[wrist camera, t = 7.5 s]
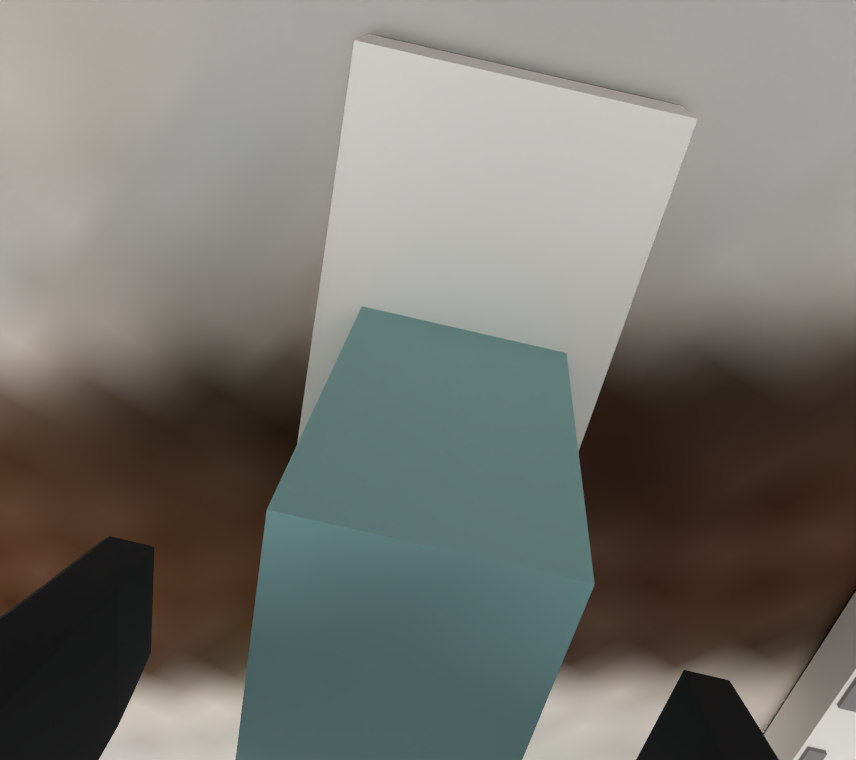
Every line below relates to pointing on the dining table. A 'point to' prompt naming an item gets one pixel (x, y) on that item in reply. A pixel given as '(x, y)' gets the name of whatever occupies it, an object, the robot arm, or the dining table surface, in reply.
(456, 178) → the stub
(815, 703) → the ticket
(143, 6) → the dining table surface
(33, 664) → the robot arm
